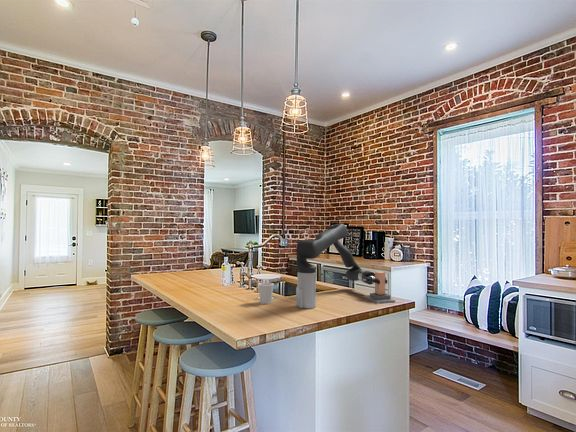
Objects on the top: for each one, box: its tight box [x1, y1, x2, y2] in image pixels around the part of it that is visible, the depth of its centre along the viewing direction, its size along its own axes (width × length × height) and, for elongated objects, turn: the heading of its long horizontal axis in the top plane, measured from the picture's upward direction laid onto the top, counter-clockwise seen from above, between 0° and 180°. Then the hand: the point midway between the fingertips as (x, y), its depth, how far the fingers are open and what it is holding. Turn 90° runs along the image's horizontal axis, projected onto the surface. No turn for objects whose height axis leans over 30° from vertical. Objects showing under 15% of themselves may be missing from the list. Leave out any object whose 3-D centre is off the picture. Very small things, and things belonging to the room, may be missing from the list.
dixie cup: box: [257, 281, 275, 305], centre depth 175 cm, size 8×8×10 cm
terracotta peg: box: [374, 271, 386, 295], centre depth 185 cm, size 4×4×12 cm
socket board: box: [362, 292, 396, 304], centre depth 184 cm, size 11×15×3 cm
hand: (383, 281), depth 182 cm, fingers closed on terracotta peg, 4 cm apart
